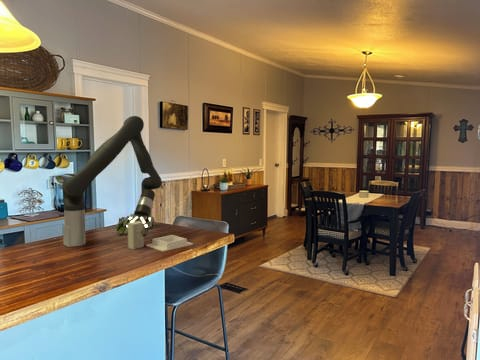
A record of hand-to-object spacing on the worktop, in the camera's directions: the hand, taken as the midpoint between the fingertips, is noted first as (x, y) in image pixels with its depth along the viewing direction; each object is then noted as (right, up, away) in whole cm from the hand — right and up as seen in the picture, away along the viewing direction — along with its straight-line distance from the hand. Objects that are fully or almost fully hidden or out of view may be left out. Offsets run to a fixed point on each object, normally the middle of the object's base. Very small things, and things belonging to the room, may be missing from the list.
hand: (135, 235), depth 177 cm
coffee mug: (-10, -2, +45) cm, 46 cm away
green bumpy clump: (-13, -3, +29) cm, 32 cm away
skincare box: (0, -6, +1) cm, 6 cm away
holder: (+15, -6, +6) cm, 17 cm away
